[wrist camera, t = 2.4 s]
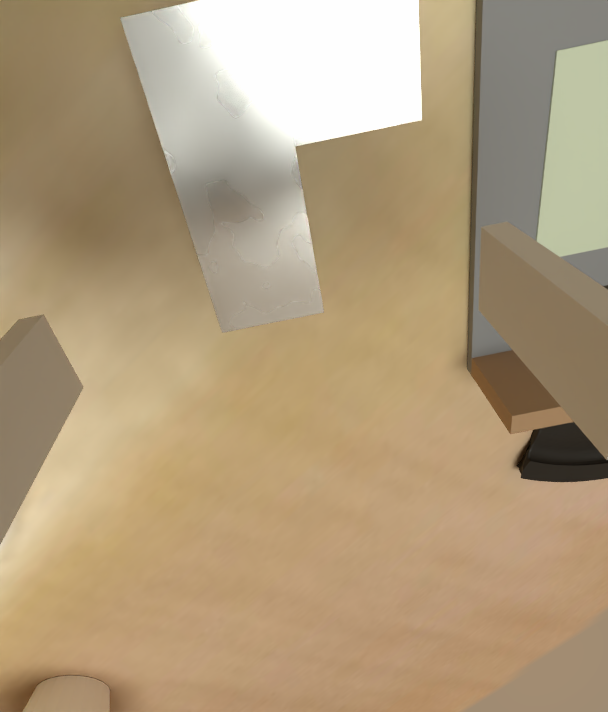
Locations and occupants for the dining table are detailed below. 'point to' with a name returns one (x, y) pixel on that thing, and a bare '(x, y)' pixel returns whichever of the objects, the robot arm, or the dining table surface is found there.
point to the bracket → (267, 126)
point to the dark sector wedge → (562, 456)
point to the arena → (537, 167)
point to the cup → (70, 695)
